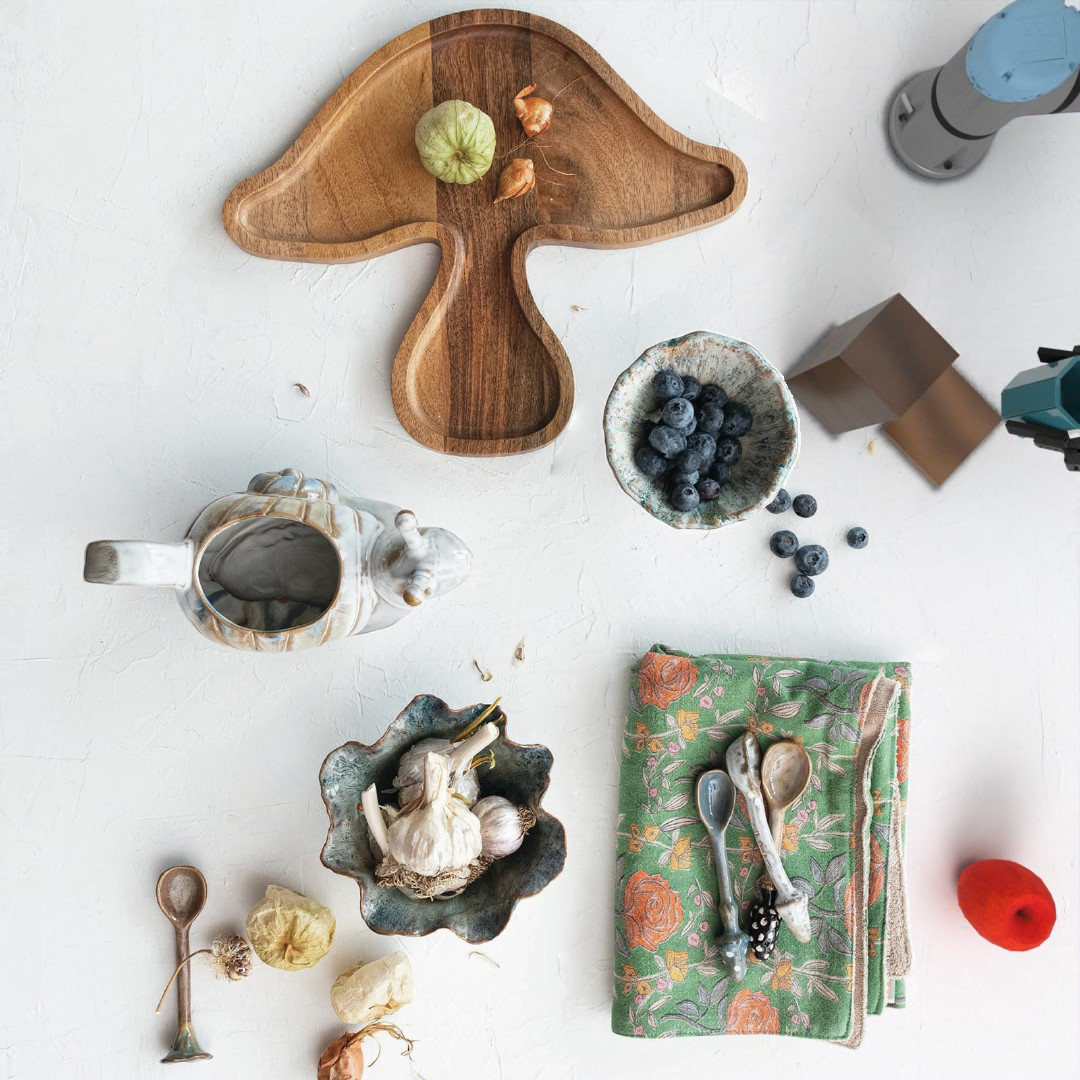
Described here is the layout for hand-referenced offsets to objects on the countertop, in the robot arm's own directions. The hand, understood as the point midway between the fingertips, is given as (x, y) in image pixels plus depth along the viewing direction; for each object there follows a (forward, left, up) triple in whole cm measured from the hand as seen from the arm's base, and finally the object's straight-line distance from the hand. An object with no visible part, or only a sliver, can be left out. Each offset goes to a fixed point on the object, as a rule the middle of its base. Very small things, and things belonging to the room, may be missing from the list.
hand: (1024, 390), depth 102 cm
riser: (+6, -13, -24) cm, 28 cm away
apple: (+44, +55, -24) cm, 74 cm away
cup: (-1, +3, -3) cm, 4 cm away
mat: (-1, +3, -24) cm, 24 cm away
